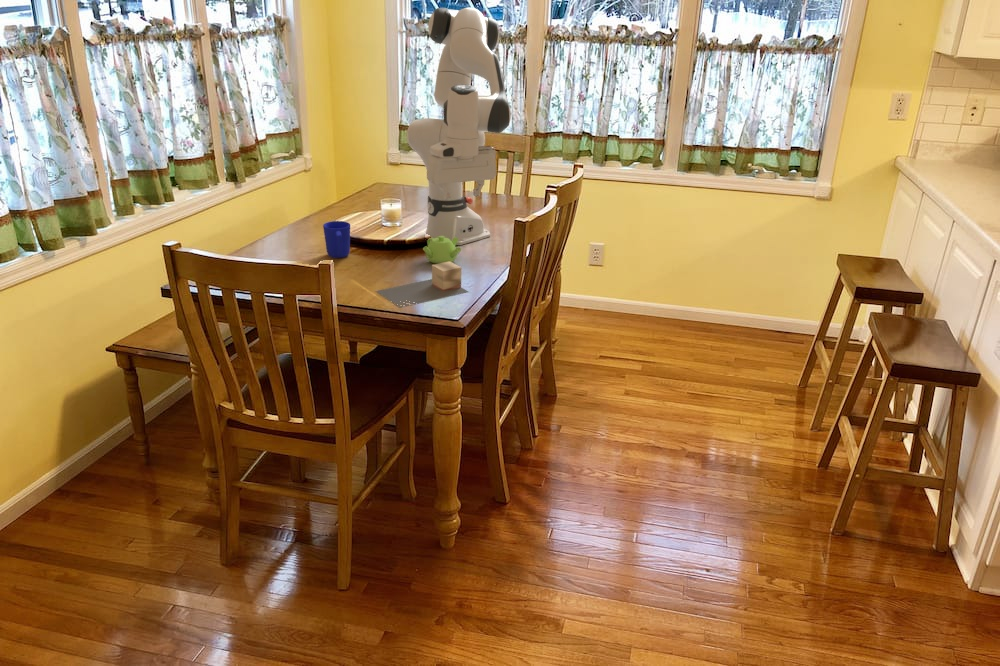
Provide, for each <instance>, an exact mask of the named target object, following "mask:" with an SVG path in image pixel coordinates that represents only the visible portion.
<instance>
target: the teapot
mask: <svg viewBox="0 0 1000 666" xmlns="http://www.w3.org/2000/svg"><path fill="white" fill-rule="evenodd" d="M430 240H432V241H431V242H430ZM457 241H458V238H456V237H454V238H453V240H452V241H451V240H450V239H448V238H444V236H438V238H429V239H428V240H426V243H427V245H426V246H424V247H422V250H423V251H424V253H425V257H426V259H427V260H428V261H429V263H433V264H439V263H444V262H449V261H450V262H452V263H454V261H455V260H456V259H457V257H458V254H459V253H460V252H461V251H462V248H461V247H460V246H457V245H456V244H457ZM456 246H457V247H456Z"/></svg>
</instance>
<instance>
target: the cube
mask: <svg viewBox="0 0 1000 666" xmlns="http://www.w3.org/2000/svg"><path fill="white" fill-rule="evenodd" d="M431 279H432V285H433V286H435V287H437V288H438V289H440V290H442V291H447V290H452V289H456V288H460V287H461V288H462V266H459V265H457V264H455V263H454V262H450V261H449V262H444V263H439V264H438V263H433V264H431Z"/></svg>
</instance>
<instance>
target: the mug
mask: <svg viewBox="0 0 1000 666" xmlns="http://www.w3.org/2000/svg"><path fill="white" fill-rule="evenodd" d="M322 226H323V227H322V228H323V233H324V241H325V247H326V254H327V255H328V256H329V257H330V258H333V259H342V258H346V257H348V256H349V254H350V249H351V248H350V247H351V246H350V245H351V224H350V222H347V221H343V220H334V221H333V220H332V221H328V222H325V223H324V224H323V225H322Z"/></svg>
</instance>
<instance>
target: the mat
mask: <svg viewBox="0 0 1000 666" xmlns="http://www.w3.org/2000/svg"><path fill="white" fill-rule="evenodd" d="M375 293H377V294H379V295H380V296H382V297H383V298H384V297H385V299H386V300H388V301H389V302H390V301H392V302H391V303H392V304H394V303H395V304H394V305H395V306H396V307H397V308H399V309H401V308H404V307H403V305H405V306H406V307H410V306H409V304H406V303H410V304H414V305H418V304H422V303H426V302H431V301H435V300H440V299H444V298H448V297H453V296H456V295H461V294H462V295H463V294H466V293H469V291H468V290H467V289H465V288H463V287H462V286H461V287H460V288H456V289H452V290H447V291H442V290H440V289H438V288H437V287H435V286H433V285H432V278H431V279H430V278H429V279H426V280H421V281H417V282H411V283H407V284H403V285H397V286H394V287H388V288H383V289H379V290H375ZM406 300H407V301H406ZM400 301H401V302H400ZM409 301H410V302H409ZM403 302H405V303H403ZM413 302H415V303H413ZM416 303H417V304H416ZM397 304H398V305H397ZM400 305H402V306H400Z"/></svg>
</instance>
